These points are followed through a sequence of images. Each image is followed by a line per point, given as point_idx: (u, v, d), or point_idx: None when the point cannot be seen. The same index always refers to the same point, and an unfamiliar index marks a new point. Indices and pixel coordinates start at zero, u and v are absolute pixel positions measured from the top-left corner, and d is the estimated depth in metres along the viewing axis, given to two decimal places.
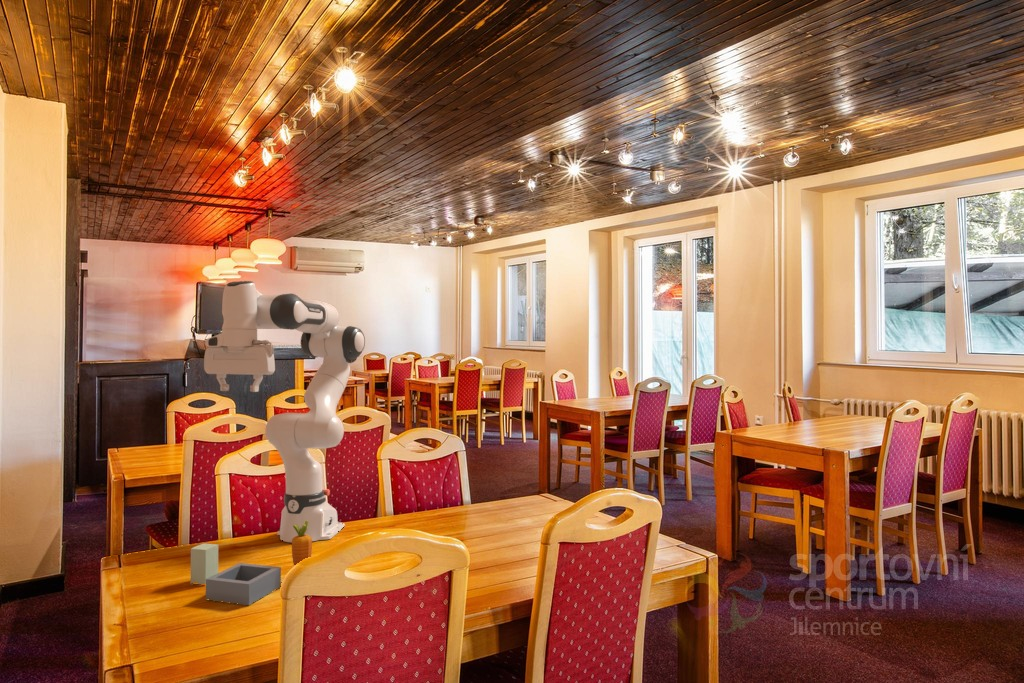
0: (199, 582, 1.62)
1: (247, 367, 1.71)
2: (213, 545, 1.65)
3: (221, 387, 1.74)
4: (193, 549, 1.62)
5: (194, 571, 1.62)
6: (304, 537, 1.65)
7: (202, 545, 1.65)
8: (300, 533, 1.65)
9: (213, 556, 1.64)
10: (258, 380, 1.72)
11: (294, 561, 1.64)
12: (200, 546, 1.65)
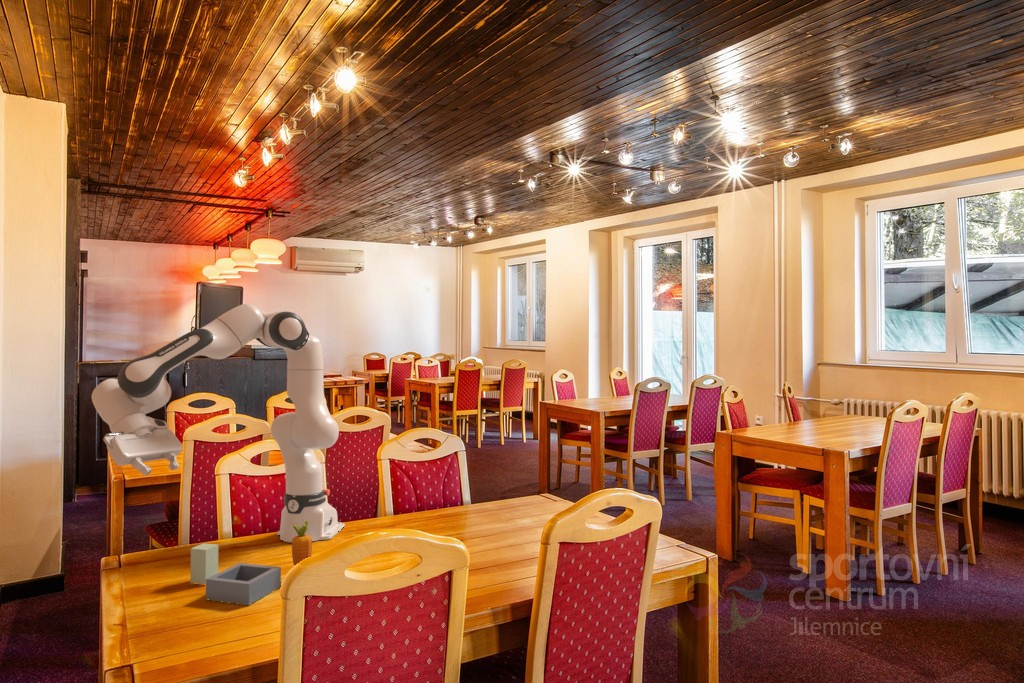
0: (199, 582, 1.62)
1: None
2: (213, 545, 1.65)
3: None
4: (193, 549, 1.62)
5: (194, 571, 1.62)
6: (304, 537, 1.65)
7: (202, 545, 1.65)
8: (300, 533, 1.65)
9: (213, 556, 1.64)
10: (135, 466, 1.63)
11: (294, 561, 1.64)
12: (200, 546, 1.65)
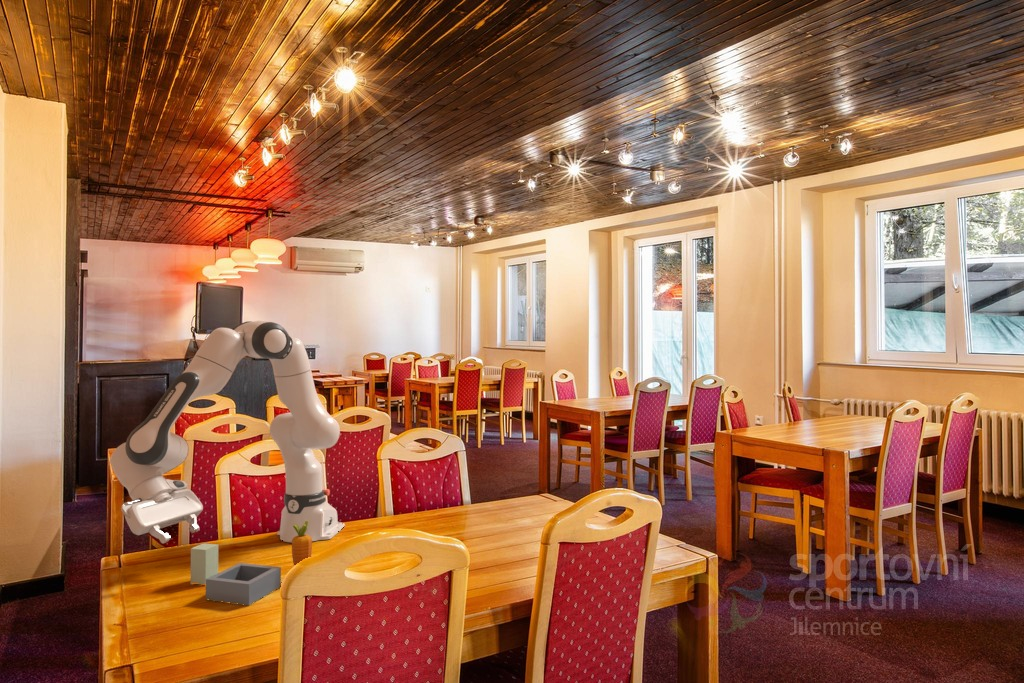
0: (199, 582, 1.62)
1: None
2: (213, 545, 1.65)
3: None
4: (193, 549, 1.62)
5: (194, 571, 1.62)
6: (304, 537, 1.65)
7: (202, 545, 1.65)
8: (300, 533, 1.65)
9: (213, 556, 1.64)
10: (154, 534, 1.61)
11: (294, 561, 1.64)
12: (200, 546, 1.65)
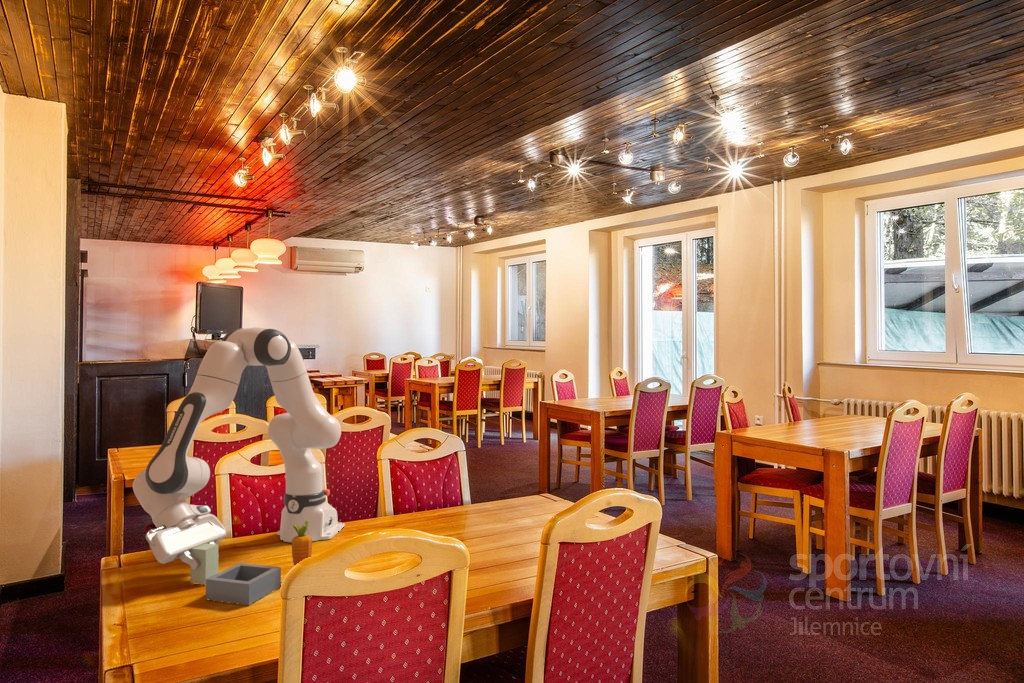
0: (199, 582, 1.62)
1: None
2: (213, 545, 1.65)
3: None
4: (193, 549, 1.62)
5: (194, 571, 1.62)
6: (304, 537, 1.65)
7: (202, 545, 1.65)
8: (300, 533, 1.65)
9: (213, 556, 1.64)
10: (184, 560, 1.60)
11: (294, 561, 1.64)
12: (200, 546, 1.65)
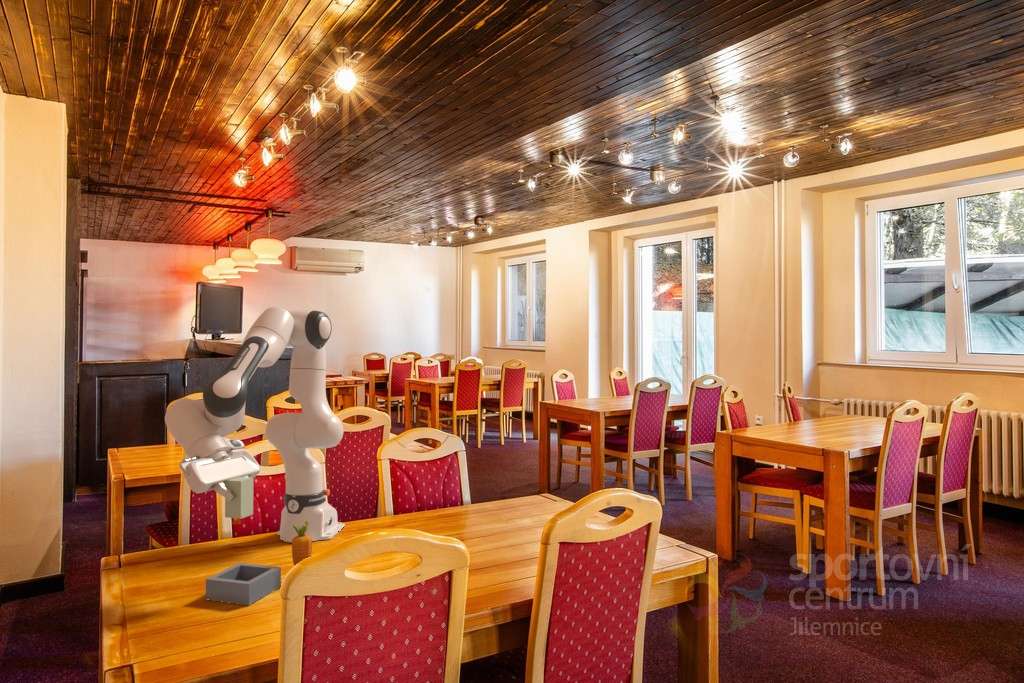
0: (234, 515, 1.55)
1: None
2: (248, 478, 1.58)
3: None
4: (228, 481, 1.56)
5: (229, 504, 1.55)
6: (304, 537, 1.65)
7: (237, 478, 1.58)
8: (300, 533, 1.65)
9: (248, 489, 1.57)
10: (219, 491, 1.53)
11: (294, 561, 1.64)
12: (234, 478, 1.58)
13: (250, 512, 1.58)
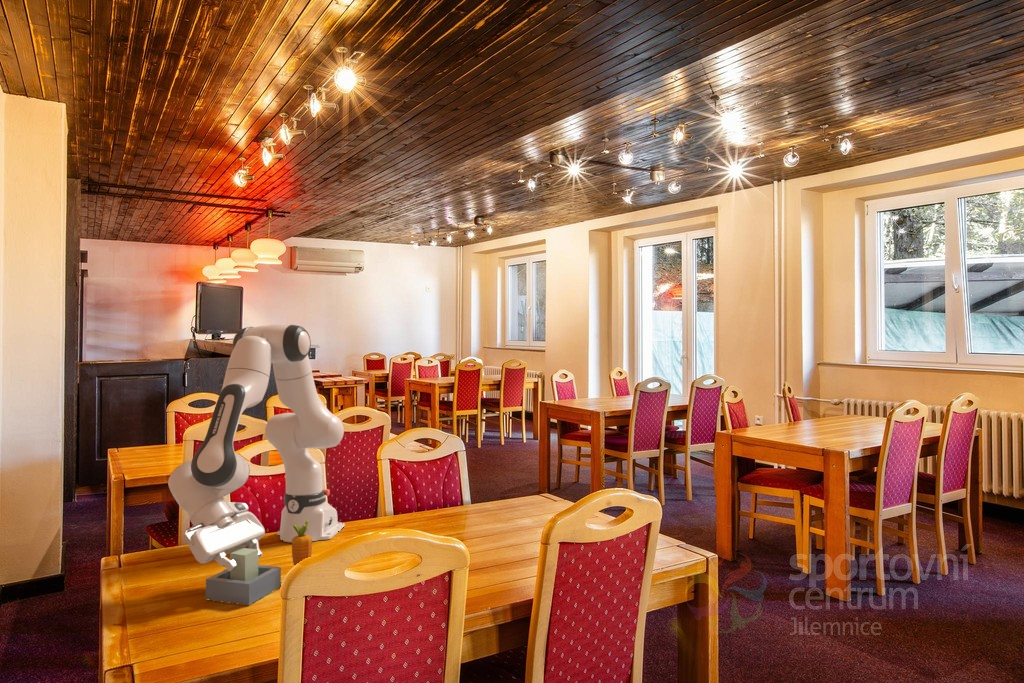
0: None
1: None
2: (253, 551, 1.57)
3: None
4: (232, 554, 1.55)
5: (234, 577, 1.55)
6: (304, 537, 1.65)
7: (242, 550, 1.57)
8: (300, 533, 1.65)
9: (253, 562, 1.56)
10: (220, 562, 1.51)
11: (294, 561, 1.64)
12: (240, 550, 1.57)
13: None
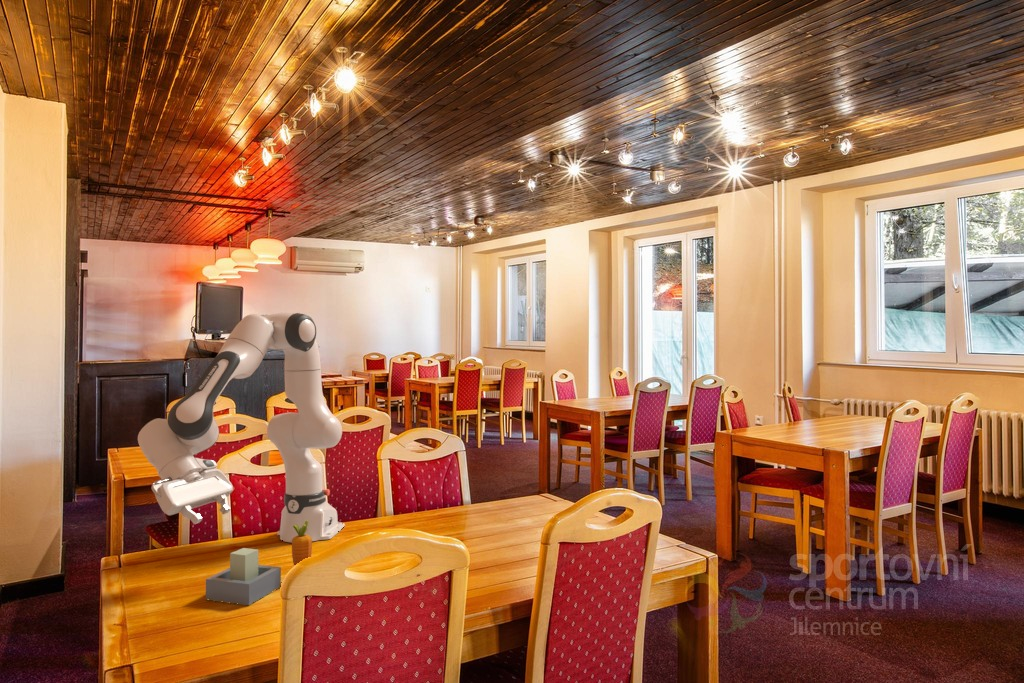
0: None
1: None
2: (253, 551, 1.57)
3: None
4: (232, 554, 1.55)
5: (234, 577, 1.55)
6: (304, 537, 1.65)
7: (242, 550, 1.57)
8: (300, 533, 1.65)
9: (253, 562, 1.56)
10: (185, 514, 1.54)
11: (294, 561, 1.64)
12: (240, 550, 1.57)
13: None
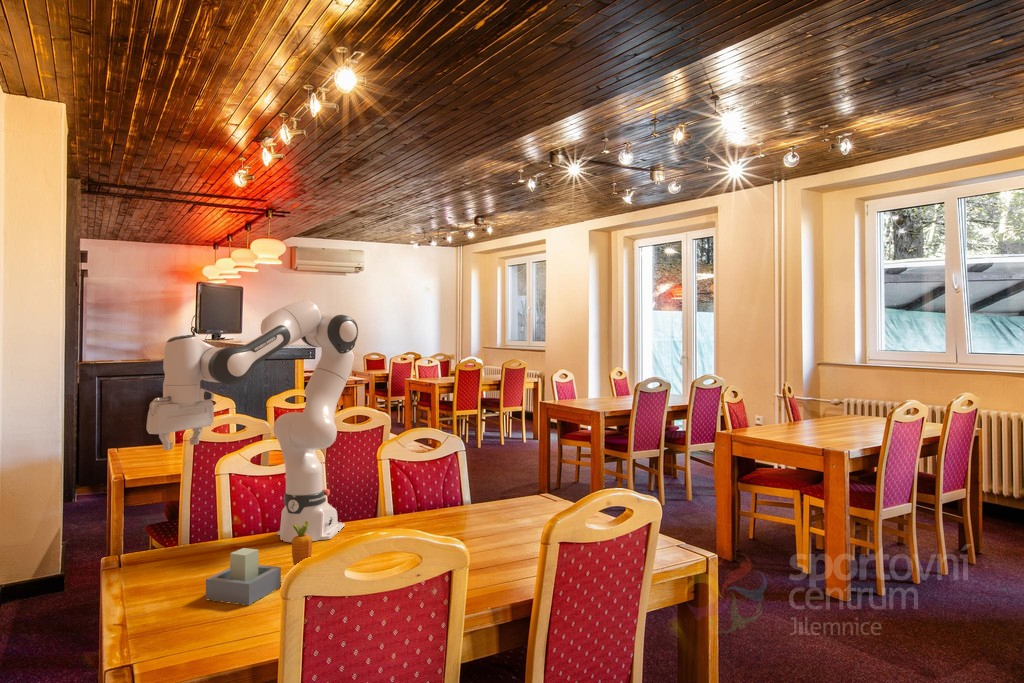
0: None
1: None
2: (253, 551, 1.57)
3: None
4: (232, 554, 1.55)
5: (234, 577, 1.55)
6: (304, 537, 1.65)
7: (242, 550, 1.57)
8: (300, 533, 1.65)
9: (253, 562, 1.56)
10: (161, 438, 1.66)
11: (294, 561, 1.64)
12: (240, 550, 1.57)
13: None
